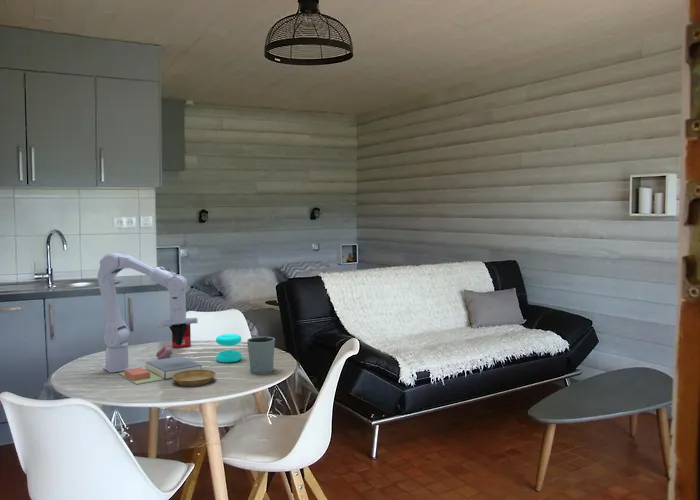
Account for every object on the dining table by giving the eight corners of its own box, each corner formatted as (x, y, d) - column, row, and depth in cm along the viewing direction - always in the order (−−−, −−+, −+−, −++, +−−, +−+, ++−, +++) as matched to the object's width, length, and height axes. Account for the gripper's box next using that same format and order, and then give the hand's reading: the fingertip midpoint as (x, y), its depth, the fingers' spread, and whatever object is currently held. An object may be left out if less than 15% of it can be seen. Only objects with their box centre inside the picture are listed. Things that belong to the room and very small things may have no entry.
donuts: (245, 334, 244) (233, 338, 234) (246, 358, 244) (233, 364, 235) (224, 332, 247) (211, 337, 237) (224, 356, 247) (211, 362, 238)
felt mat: (119, 374, 221) (119, 373, 221) (144, 369, 227) (144, 368, 227) (136, 384, 207) (136, 383, 207) (163, 379, 213) (163, 378, 213)
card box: (140, 367, 221) (141, 372, 221) (124, 370, 217) (124, 375, 217) (150, 372, 214) (150, 377, 214) (133, 375, 210) (133, 380, 210)
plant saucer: (172, 389, 201) (171, 382, 201) (172, 378, 215) (172, 371, 215) (217, 386, 205) (217, 378, 205) (214, 375, 220) (214, 368, 219)
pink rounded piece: (167, 365, 240) (175, 349, 241) (157, 361, 238) (165, 344, 239) (165, 359, 249) (173, 344, 250) (155, 355, 247) (162, 340, 248)
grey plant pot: (279, 368, 228) (278, 337, 227) (268, 375, 218) (268, 342, 217) (254, 366, 230) (254, 335, 230) (243, 373, 221) (242, 341, 220)
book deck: (145, 369, 227) (145, 361, 227) (181, 363, 236) (181, 356, 236) (164, 379, 213) (164, 371, 213) (201, 373, 222) (201, 364, 221)
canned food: (194, 345, 269) (193, 321, 268) (180, 349, 262) (180, 324, 261) (182, 343, 273) (181, 319, 272) (168, 347, 266) (168, 322, 265)
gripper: (163, 311, 216) (164, 349, 217) (200, 307, 225) (201, 343, 226) (155, 309, 222) (156, 345, 222) (192, 305, 231) (193, 340, 232)
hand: (178, 344), depth 225 cm, fingers closed
